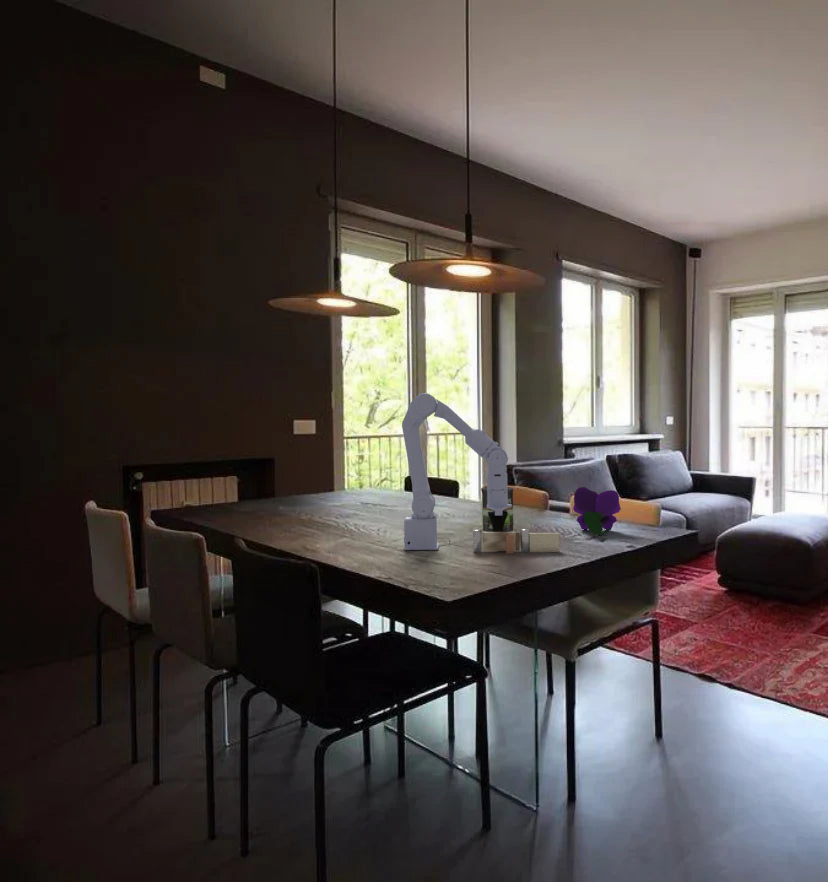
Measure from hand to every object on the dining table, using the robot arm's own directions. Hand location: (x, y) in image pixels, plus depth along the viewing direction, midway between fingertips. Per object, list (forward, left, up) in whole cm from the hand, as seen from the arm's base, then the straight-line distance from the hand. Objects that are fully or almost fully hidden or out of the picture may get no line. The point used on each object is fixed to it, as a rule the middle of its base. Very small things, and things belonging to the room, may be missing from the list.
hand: (498, 536), depth 182 cm
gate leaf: (+1, -6, -2) cm, 7 cm away
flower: (+32, +19, -3) cm, 37 cm away
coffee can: (+1, +24, -3) cm, 24 cm away
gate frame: (+5, -7, -3) cm, 8 cm away
